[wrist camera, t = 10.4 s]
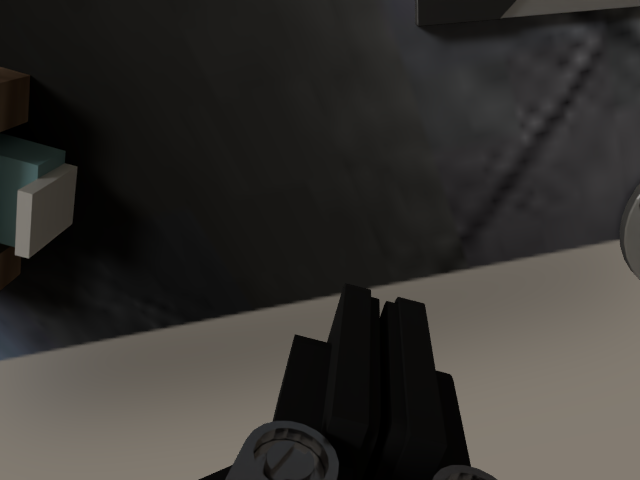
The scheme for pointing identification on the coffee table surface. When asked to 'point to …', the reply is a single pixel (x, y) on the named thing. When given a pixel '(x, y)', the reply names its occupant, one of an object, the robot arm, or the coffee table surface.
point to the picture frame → (503, 9)
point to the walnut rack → (4, 113)
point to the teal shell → (34, 194)
